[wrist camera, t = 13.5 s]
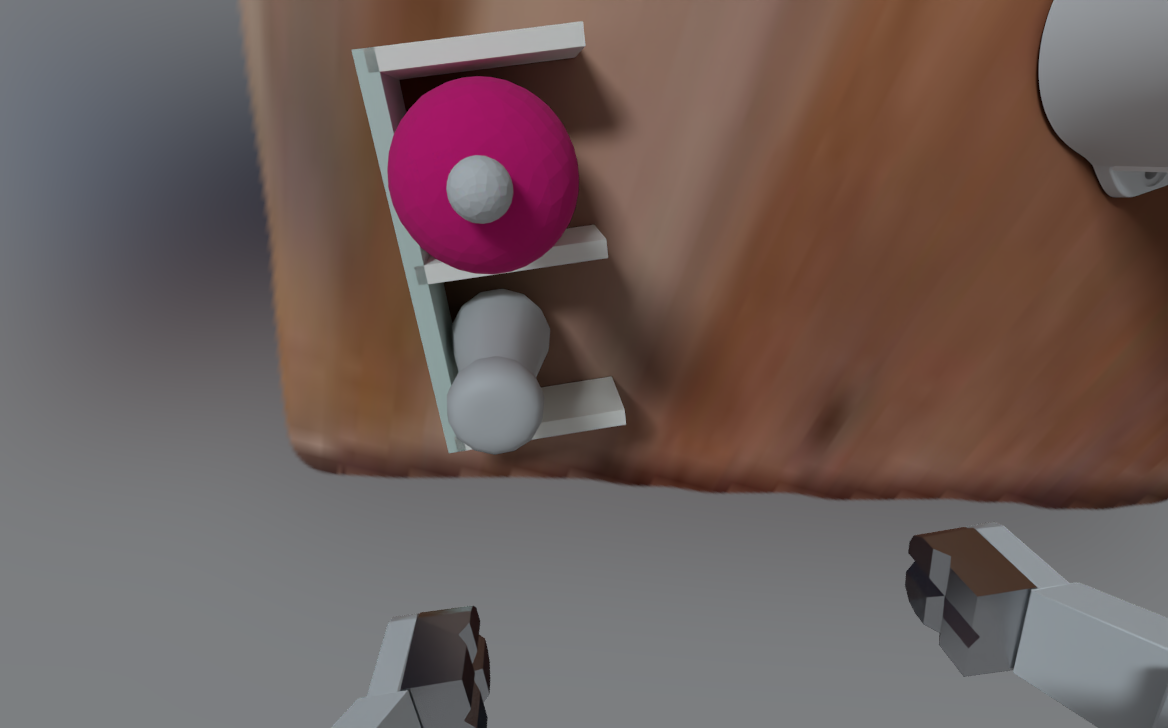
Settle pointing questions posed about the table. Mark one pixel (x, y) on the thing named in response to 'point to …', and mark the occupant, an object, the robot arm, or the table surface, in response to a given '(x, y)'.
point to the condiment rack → (425, 274)
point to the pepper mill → (483, 175)
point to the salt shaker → (497, 371)
